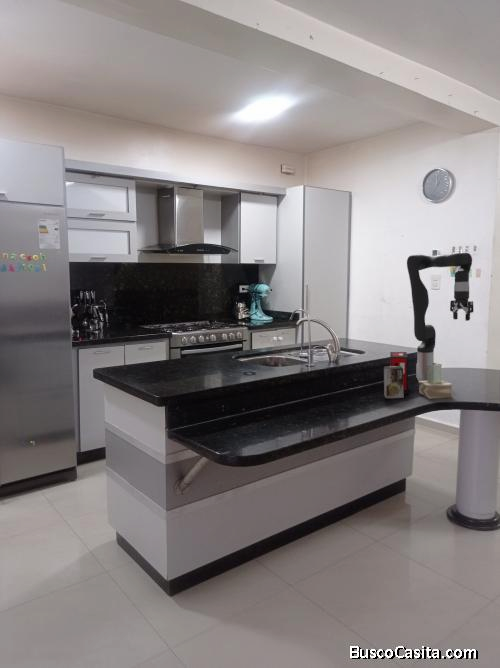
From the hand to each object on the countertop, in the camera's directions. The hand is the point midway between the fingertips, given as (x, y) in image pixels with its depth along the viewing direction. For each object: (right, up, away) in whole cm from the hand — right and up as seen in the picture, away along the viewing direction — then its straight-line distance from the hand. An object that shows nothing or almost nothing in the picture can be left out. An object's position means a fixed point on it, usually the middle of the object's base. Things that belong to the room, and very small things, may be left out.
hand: (461, 319), depth 263 cm
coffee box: (-39, -41, -6) cm, 57 cm away
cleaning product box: (-32, -39, +8) cm, 51 cm away
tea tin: (-18, -33, -7) cm, 39 cm away
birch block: (-17, -40, -6) cm, 44 cm away
